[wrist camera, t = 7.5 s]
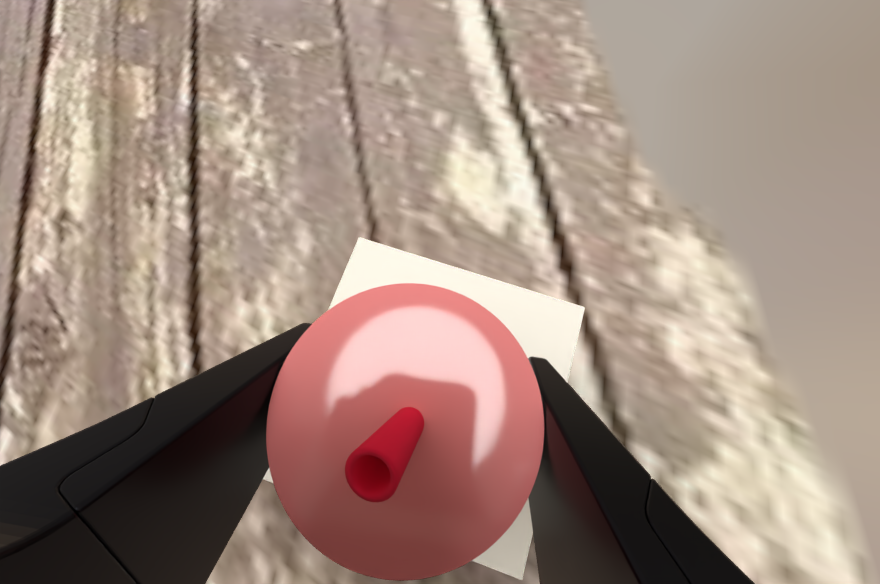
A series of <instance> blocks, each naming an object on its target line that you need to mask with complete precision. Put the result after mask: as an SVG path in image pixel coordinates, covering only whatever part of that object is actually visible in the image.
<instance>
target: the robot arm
mask: <svg viewBox="0 0 880 584" xmlns="http://www.w3.org/2000/svg"><path fill="white" fill-rule="evenodd" d="M311 325H312V324H310V323H303V324H300V325H298V326H296V327H294V328H292V329H290V330H288V331H286V332H284V333H282V334H280V335H278V336H276V337H274V338H272V339H270V340H268V341H266V342H264V343H262V344H260V345H257V346H255V347H253V348H251V349H249V350H247V351H245V352H243V353H241V354H239V355H237V356H235V357H233V358H231V359H229V360H227V361H225V362H223V363H221V364H219V365H217V366H215V367H213V368H211V369H209V370H207V371H205V372H203V373H200V374H198V375H196V376H194V377H192V378H190V379H188V380H186V381H184V382H182V383H180V384H178V385H176V386H174V387H172V388H170V389H168V390H166V391H164V392H162V393H160V394H158V395H156V396H155V398H149V399H147V400H145V401H143V402H141V403H139V404H137V405H135V406H133V407H131V408H129V409H127V410H125V411H123V412H121V413H118V414H116V415H114V416H112V417H110V418H108V419H106V420H104V421H102V422H99V423H97V424H95V425H93V426H91V427H88V428H86V429H84V430H82V431H79V432H77V433H75V434H73V435H70V436H68V437H66V438H64V439H61V440H59V441H57V442H54V443H52V444H50V445H47V446H45V447H43V448H40V449H38V450H36V451H33V452H31V453H29V454H27V455H24V456H22V457H20V458H17V459H15V460H13V461H10V462H8V463H6V464H3V465H1V466H0V584H205V583H206V581H207V579H208V578H209V576H210V574H211V572H212V570H213V569H214V567H215V565H216V563H217V561H218V560H219V558H220V556H221V554H222V552H223V550H224V549H225V547H226V545H227V543H228V541H229V540H230V538H231V536H232V534H233V532H234V530H235V529H236V527H237V525H238V523H239V521H240V520H241V518H242V516H243V514H244V512H245V510H246V509H247V507H248V505H249V503H250V501H251V500H252V498H253V496H254V494H255V492H256V490H257V489H258V487H259V485H260V483H261V481H262V480H263V478H264V476H265V474H266V472H267V470H268V469H269V463H268V456H267V446H266V425H267V415H268V409H269V403H270V399H271V395H272V391H273V388H274V385H275V382H276V379H277V377H278V374H279V372H280V370H281V368H282V365H283V363H284V362H285V360H286V358H287V356H288V354H289V353H290V351H291V350H292V348H293V347H294V345H295V344H296V342H297V341H298V340H299V338H300V337H301V336H302V335H303V333H304V332H305V331H306V330H307V329H308V328H309V327H310V326H311ZM528 360H529V362H530V364H531V366H532V368H533V371H534V374H535V376H536V379H537V382H538V386H539V390H540V394H541V399H542V404H543V412H544V444H543V452H542V458H541V463H540V467H539V471H538V474H537V477H536V480H535V483H534V486H533V488H532V491H531V493H530V495H529V497H528V499H529V506H530V514H531V521H532V528H533V535H534V543H535V550H536V557H537V564H538V571H539V579H540V584H755V583H754V582H753V581H751V580H750V579H749V578H748V577H747V576H746V575H745V574H744V573H743V572H742V571H741V570H740V569H739V568H738V567H737V566H736V565H735V564H734V563H733V562H732V561H731V560H730V559H729V558H728V557H727V556H726V555H725V554H724V553H723V552H722V551H721V550H720V549H719V548H718V547H717V546H716V545H715V544H714V543H713V542H712V541H711V540H710V539H709V538H708V537H707V536H706V535H705V534H704V533H703V532H702V531H701V530H700V529H699V527H698V526H697V525H696V524H695V523H694V522H693V521H692V520H691V519H690V518H689V517H688V516H687V515H686V514H685V513H684V511H683V510H682V509H681V508H680V507H679V506H678V505H677V504H676V503H675V502H674V501H673V500H672V499H671V497H670V496H669V495H668V494H667V493H666V492H665V491H664V490H663V489H662V487H661V486H660V485H659V484H658V483H657V482H656V481H655V480H654V479H651V476H650V474H649V473H648V472H647V471H646V470H645V469H644V468H643V466H642V465H641V464H640V463H639V462H638V461H637V460H636V459H635V458H634V456H633V455H632V454H631V453H630V452H629V451H628V450H627V449H626V447H625V446H624V445H623V444H622V443H621V442H620V441H619V440H618V439H617V437H616V436H615V435H614V434H613V433H612V432H611V431H610V430H609V429H608V427H607V426H606V425H605V424H604V423H603V422H602V421H601V420H600V418H599V417H598V416H597V415H596V414H595V413H594V412H593V411H592V410H591V408H590V407H589V406H588V405H587V404H586V403H585V402H584V401H583V400H582V398H581V397H580V396H579V395H578V394H577V393H576V392H575V391H574V389H573V388H572V387H571V386H570V385H569V384H568V383H567V382H566V381H565V379H564V378H563V377H562V376H561V375H560V374H559V373H558V372H557V370H556V369H555V368H554V367H553V366H552V365H551V364H550V363H549V362H548V360H546V359H545V358H539V357H533V356H531V357H529V358H528Z"/></svg>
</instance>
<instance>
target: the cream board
mask: <svg viewBox="0 0 880 584" xmlns="http://www.w3.org/2000/svg"><path fill="white" fill-rule="evenodd" d="M401 283H417V284H427V285H433V286H438V287H442V288H445V289H449V290H452V291H454V292H457V293H459V294H462V295H464V296H466V297H468V298H470V299H472V300H473V301H475V302H477V303H478V304H480V305H481V306H483V307H484V308H486V309H487V310H488V311H490V312H491V313H492V314H493V315H495V316H496V317H497V318H498V319H499V320H500V321H501V322H502V323H503V324H504V325H505V326H506V327H507V328H508V330H509V331H510V332H511V333H512V334H513V336H514V337H515V338H516V340H517V341H518V343H519V344H520V346H521V347H522V349H523V350H524V352H525V354H526V356H527V358H529V357H531V356H533V357H539V358H545V359H546V360H548V362H549V363H550V364H551V365H552V366H553V367H554V368H555V369H556V370H557V372H558V373H559V374H560V375H561V376H562V377H563V378H564V379H565V381H566V382H567V383H568V378H569V374H570V370H571V365H572V361H573V357H574V352H575V348H576V344H577V339H578V335H579V331H580V326H581V322H582V318H583V313H584V309H585V307H582V306H579V305H576V304H573V303H569V302H566V301H563V300H560V299H556V298H553V297H550V296H547V295H544V294H540V293H537V292H534V291H531V290H527V289H524V288H521V287H518V286H515V285H511V284H508V283H505V282H502V281H499V280H495V279H492V278H489V277H486V276H482V275H479V274H476V273H473V272H470V271H466V270H463V269H460V268H457V267H453V266H450V265H447V264H444V263H441V262H437V261H434V260H431V259H428V258H425V257H421V256H418V255H415V254H412V253H408V252H405V251H402V250H399V249H396V248H392V247H389V246H386V245H383V244H379V243H376V242H373V241H370V240H367V239H363V238H360V237H359V238H358V241H357V243H356V246H355V248H354V250H353V253H352V255H351V257H350V260H349V262H348V265H347V267H346V269H345V272H344V274H343V276H342V279H341V281H340V284H339V286H338V288H337V291H336V293H335V295H334V298H333V300H332V303H331V305H330V307H329V309H331V308H332V307H334V306H335V305H337V304H338V303H340V302H342V301H343V300H345V299H347V298H349V297H351V296H353V295H356V294H358V293H360V292H363V291H366V290H369V289H372V288H376V287H380V286H385V285H391V284H401ZM263 479H264V480H267V481H269V482H272V483H273V480H272V476H271V472H270V468H269V469H268V470H267V472H266V474H265V476H264V478H263ZM532 535H533V528H532V521H531V514H530V506H529V499H527V501H526V503H525V505H524V507H523V508H522V510H521V512H520V513H519V515H518V516H517V518H516V519H515V521H514V522H513V523H512V525H511V526H510V527H509V529H508V530H507V531H506V532H505V533H504V534H503V535H502V536H501V537H500V538H499V539H498V540H497V541H496V542H495V543H494V544H493V545H492V546H491V547H490V548H489V549H487V550H486V551H485V552H484V553H482V554H481V555H479V556H478V557H476V558H475V559H473V560H472V561H474V562H476V563H479V564H481V565H484V566H487V567H489V568H492V569H494V570H497V571H499V572H502V573H504V574H507V575H510V576H512V577H515V578H517V579H520V580H522V578H523V574H524V570H525V565H526V561H527V557H528V552H529V548H530V544H531V539H532Z"/></svg>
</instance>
